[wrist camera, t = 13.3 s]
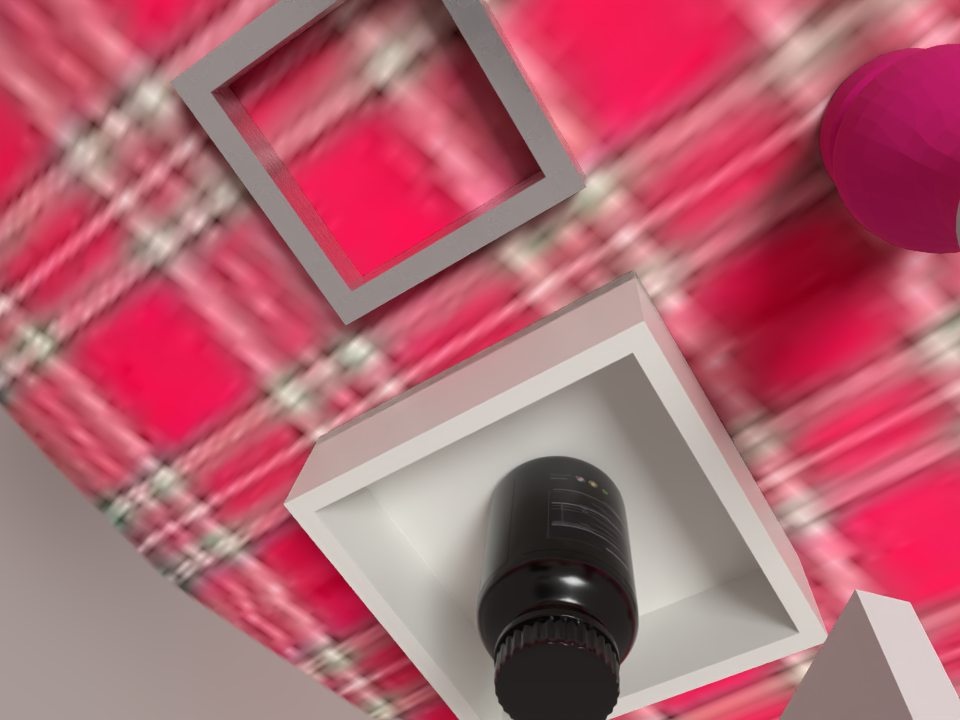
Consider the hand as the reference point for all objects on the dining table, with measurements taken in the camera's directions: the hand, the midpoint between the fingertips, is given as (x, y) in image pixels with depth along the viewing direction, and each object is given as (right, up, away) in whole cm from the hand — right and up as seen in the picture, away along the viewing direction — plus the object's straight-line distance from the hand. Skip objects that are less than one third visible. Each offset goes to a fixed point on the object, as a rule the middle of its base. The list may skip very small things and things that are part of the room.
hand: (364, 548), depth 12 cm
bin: (+6, -4, +32) cm, 33 cm away
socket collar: (-2, +13, +25) cm, 28 cm away
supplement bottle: (+6, -5, +31) cm, 32 cm away
